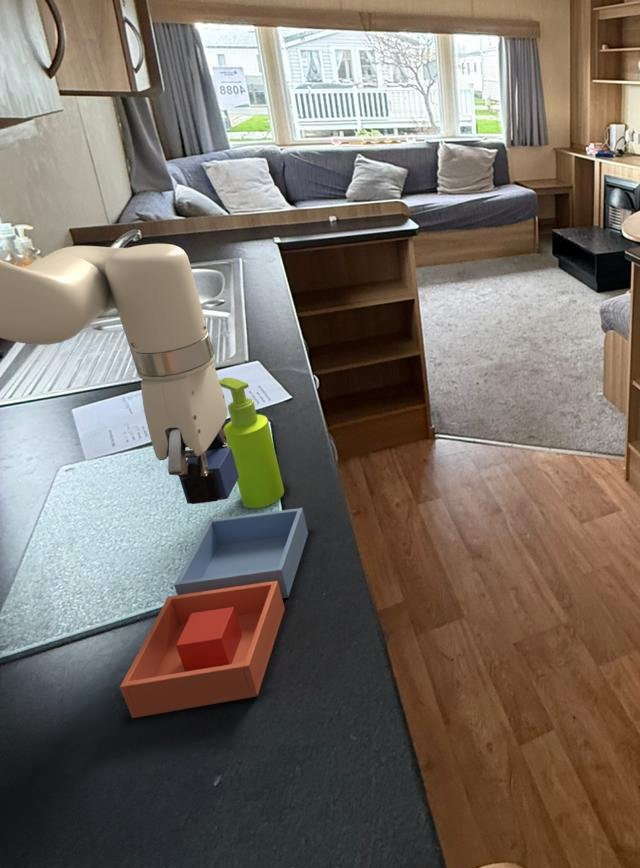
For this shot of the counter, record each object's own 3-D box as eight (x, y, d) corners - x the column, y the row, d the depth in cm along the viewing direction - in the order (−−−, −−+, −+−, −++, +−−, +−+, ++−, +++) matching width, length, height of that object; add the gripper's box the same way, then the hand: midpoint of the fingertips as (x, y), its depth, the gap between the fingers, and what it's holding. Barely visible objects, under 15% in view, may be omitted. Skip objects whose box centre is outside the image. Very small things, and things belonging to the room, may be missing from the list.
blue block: (187, 504, 78) (177, 472, 76) (200, 481, 82) (191, 451, 80) (227, 499, 79) (218, 468, 77) (239, 477, 83) (231, 447, 81)
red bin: (132, 718, 68) (119, 687, 66) (177, 625, 79) (167, 596, 77) (257, 696, 70) (248, 665, 68) (285, 608, 81) (277, 580, 79)
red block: (186, 675, 72) (175, 645, 70) (200, 641, 76) (191, 613, 74) (230, 668, 72) (220, 638, 71) (242, 635, 76) (233, 606, 75)
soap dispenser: (262, 479, 106) (235, 369, 98) (292, 490, 103) (267, 378, 95) (229, 500, 101) (198, 386, 93) (260, 512, 98) (230, 396, 90)
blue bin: (183, 613, 80) (173, 585, 79) (216, 545, 91) (208, 519, 90) (288, 597, 83) (281, 569, 81) (308, 533, 94) (302, 507, 92)
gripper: (168, 328, 80) (204, 453, 87) (99, 393, 65) (150, 538, 72) (233, 323, 81) (264, 446, 88) (181, 385, 66) (223, 529, 73)
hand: (212, 486), depth 80 cm, fingers closed on blue block, 4 cm apart
